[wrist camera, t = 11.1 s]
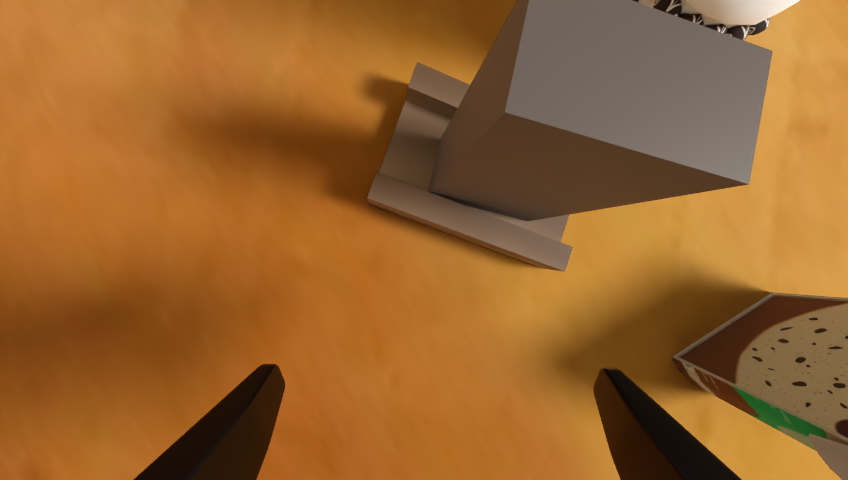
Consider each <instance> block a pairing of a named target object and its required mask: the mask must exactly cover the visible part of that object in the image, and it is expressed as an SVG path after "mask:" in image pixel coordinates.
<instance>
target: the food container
mask: <svg viewBox="0 0 848 480" xmlns="http://www.w3.org/2000/svg"><path fill="white" fill-rule="evenodd" d="M672 358H673V360H674V362H675V363H676V365H677V367H678V369H679V370H680V371H681V372H682V373H683V374H684V375H685V376H686V377H687V378H688V379H689V380H690V381H691V382H692V383H693V384H694V385H696V386H698V387H700V388H702V389H704V390H705V391H707V392H709V393H711V394H713V395H715V396H716V397H718V398H720V399H722V400H724V401H726V402H727V403H729V404H731V405H733V406H735V407H737V408H738V409H740V410H742V411H744V412H746V413H748V414H749V415H751V416H753V417H755V418H757V419H759V420H760V421H762V422H764V423H766V424H768V425H770V426H771V427H773V428H775V429H777V430H779V431H781V432H782V433H784V434H786V435H788V436H790V437H792V438H793V439H795V440H797V441H799V442H801V443H803V444H804V445H806V446H808V447H810V448H812V449H814V450H815V451H817V452H818V454H819V455H820V456H821V457H822V459H823V460H824V461H825V463H826V464H827V465H828V466H829V468H830V469H831V470H832V471H833V472H835V473H836V474H837V475H838V476H839V477H840V478H841V479H842V480H848V298H839V297H825V296H811V295H798V294H784V293H770V294H768V295H767V296H765V297H764V298H762V299H761V300H759V301H758V302H756V303H754V304H753V305H751V306H750V307H748V308H747V309H745V310H744V311H742V312H741V313H739V314H737V315H736V316H734V317H733V318H731V319H730V320H728V321H727V322H725V323H723V324H722V325H720V326H719V327H717V328H716V329H714V330H713V331H711V332H709V333H708V334H706V335H705V336H703V337H702V338H700V339H699V340H697V341H696V342H694V343H692V344H691V345H689V346H688V347H686V348H685V349H683V350H682V351H680V352H678V353H677V354H675V355H674V356H672Z"/></svg>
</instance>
